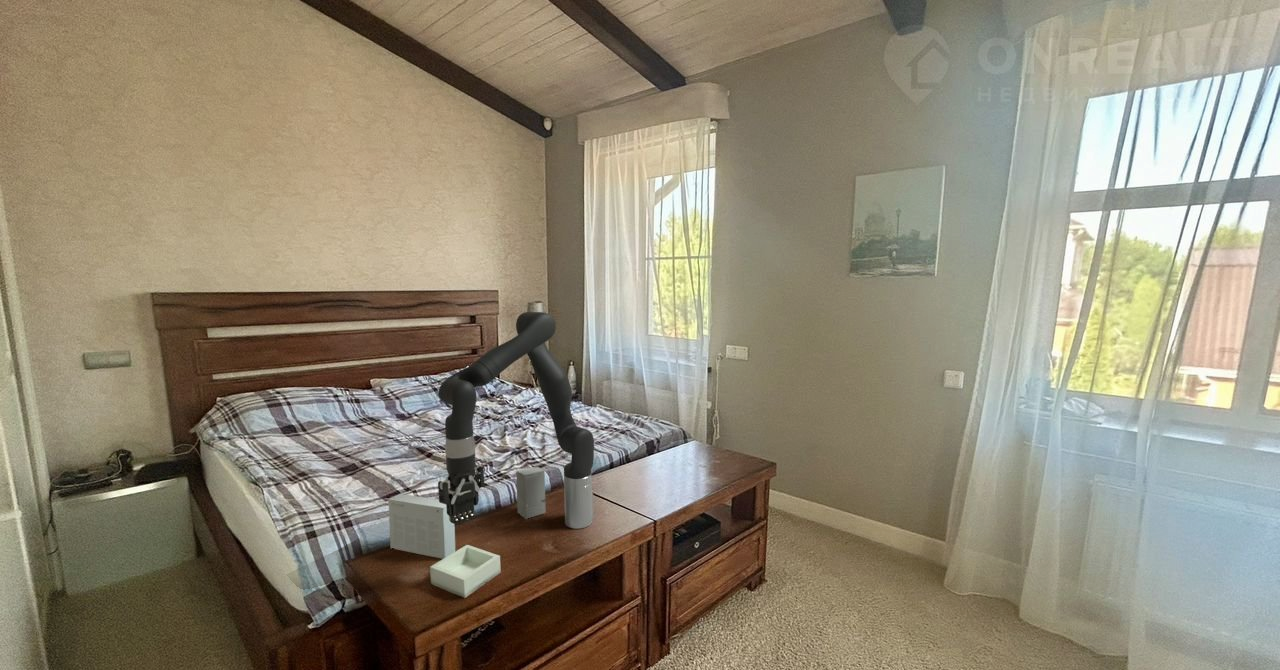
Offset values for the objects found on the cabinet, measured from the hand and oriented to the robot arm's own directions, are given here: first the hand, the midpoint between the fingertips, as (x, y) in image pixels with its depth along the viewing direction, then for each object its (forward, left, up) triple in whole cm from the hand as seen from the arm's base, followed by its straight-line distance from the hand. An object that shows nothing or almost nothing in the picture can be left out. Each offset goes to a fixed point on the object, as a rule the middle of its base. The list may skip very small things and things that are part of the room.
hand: (463, 510), depth 138 cm
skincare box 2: (-39, -10, -20) cm, 45 cm away
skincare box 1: (-4, -24, -20) cm, 31 cm away
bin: (0, 0, -20) cm, 20 cm away
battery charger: (0, 0, -3) cm, 3 cm away
